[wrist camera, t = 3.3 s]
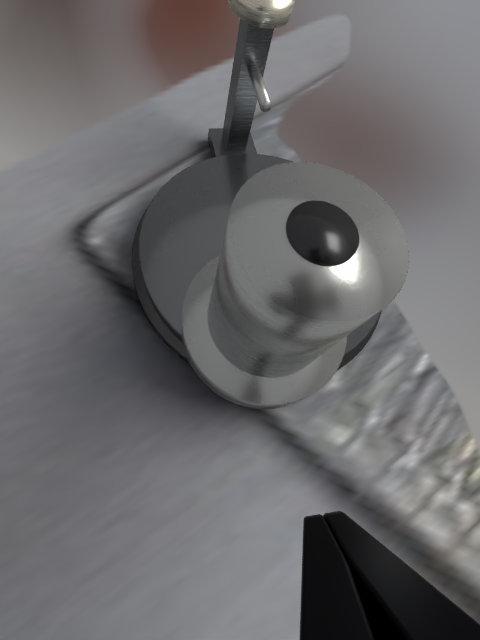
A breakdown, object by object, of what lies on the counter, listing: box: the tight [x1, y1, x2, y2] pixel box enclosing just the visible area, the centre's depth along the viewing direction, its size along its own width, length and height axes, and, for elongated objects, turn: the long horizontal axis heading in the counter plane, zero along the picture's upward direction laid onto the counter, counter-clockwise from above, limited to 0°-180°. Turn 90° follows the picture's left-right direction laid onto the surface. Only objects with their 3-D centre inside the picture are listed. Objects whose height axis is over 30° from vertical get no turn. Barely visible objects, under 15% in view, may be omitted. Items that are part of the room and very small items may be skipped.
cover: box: [181, 162, 409, 409], centre depth 15 cm, size 8×8×9 cm
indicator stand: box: [208, 0, 295, 158], centre depth 21 cm, size 5×3×10 cm, turn 14°
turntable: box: [132, 154, 382, 370], centre depth 22 cm, size 16×16×2 cm
